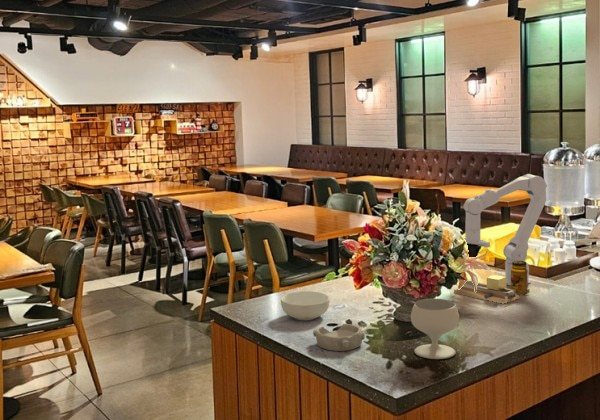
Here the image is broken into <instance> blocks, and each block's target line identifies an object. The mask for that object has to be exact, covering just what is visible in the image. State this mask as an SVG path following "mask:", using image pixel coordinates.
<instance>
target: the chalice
mask: <svg viewBox="0 0 600 420" xmlns="http://www.w3.org/2000/svg"><path fill="white" fill-rule="evenodd" d="M410 321H411V325H413V327H414V328H415V329H417V330H418V331H420V332H422V333H424V334H425V335H427V336H428V337H429V338H430V340H431V343H429V344H428V343H427V344H422V345H419V346H417V347H416V348H414V352H413V353H414V354H416V356H419V357H421V358H424V359H425V358H426V359H429V360H443V359H450V358H452V357H454V356H455V355H456V354H457V352H456V350H455V349H454V348H453V347H451V346H449V345H444V344H439V339H440V338H441V337H442V336H444V335H446V334H447V333H450V332H451V331H453V330H455V329H457V327H458V325H459V323H460V314H459V310H458V307H457V305H456V304H455V303H454V301H451V300H450V299H445V298H444V299H443V298H423V299H419V300H417V301H415V302H414V304H413V307H412V309H411V313H410Z"/></svg>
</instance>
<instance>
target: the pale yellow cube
mask: <svg viewBox="0 0 600 420" xmlns="http://www.w3.org/2000/svg"><path fill="white" fill-rule="evenodd" d="M486 284H487V288H490V289H494V290H498V291H503V289H504V288H507V285H506V277H505V276H502V275H496V274H493V275H490V276H487V277H486Z"/></svg>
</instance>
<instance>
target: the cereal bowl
mask: <svg viewBox="0 0 600 420" xmlns="http://www.w3.org/2000/svg"><path fill="white" fill-rule="evenodd" d="M280 305H281V308H282V309H281V310H282V311H283V312H284V313H285V314H286V315H288V316H290V317H291V318H293V319H295V320H298V321H311V320H316V318H318V317H320V316H323V315H325V313H326V312H327V311H328V309H329V307H330V297H329V295H327V294H326V293H323V292H319V291H313V290H312V291H311V290H309V291H307V290H306V291H305V290H304V291H294V292H290V293H287V294H284V295H283V296H281V297H280Z"/></svg>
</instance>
